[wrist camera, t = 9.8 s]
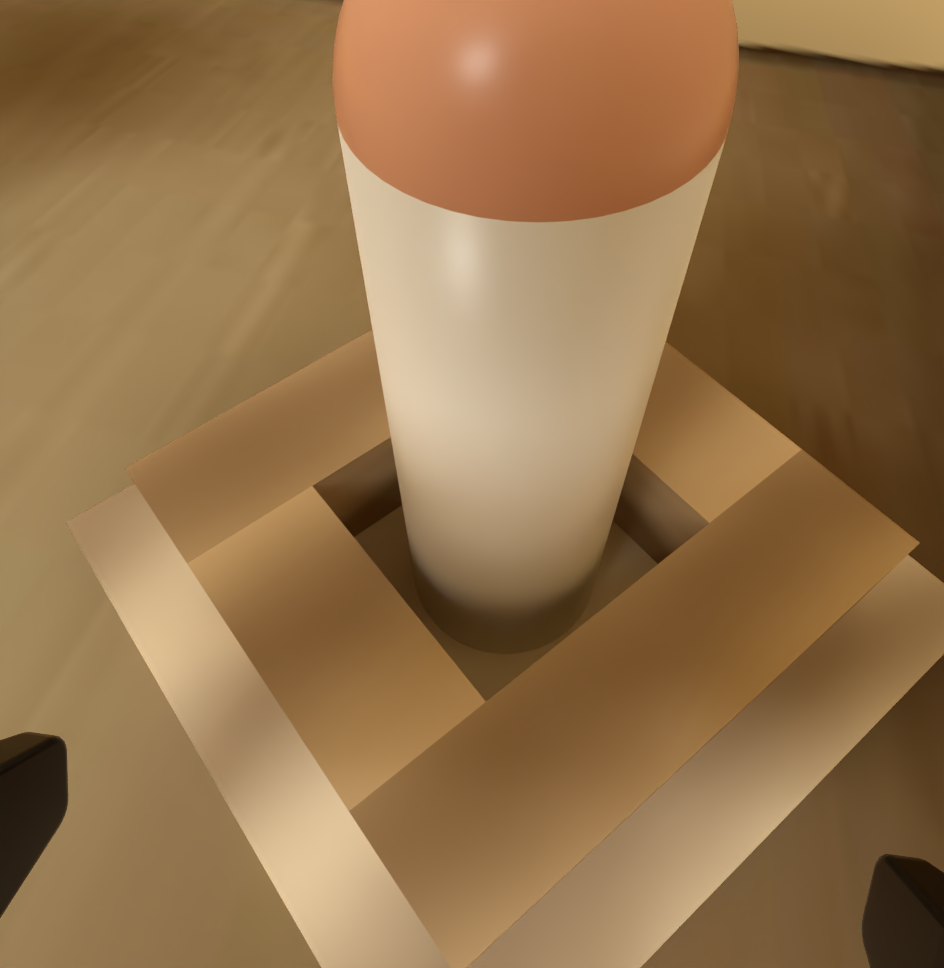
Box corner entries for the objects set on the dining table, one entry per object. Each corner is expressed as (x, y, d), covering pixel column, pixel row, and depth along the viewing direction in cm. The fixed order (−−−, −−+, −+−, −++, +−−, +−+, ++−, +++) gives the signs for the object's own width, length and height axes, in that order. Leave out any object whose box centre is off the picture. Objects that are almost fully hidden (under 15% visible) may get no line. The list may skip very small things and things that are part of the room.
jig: (959, 629, 19) (1064, 556, 15) (442, 1160, 14) (430, 1226, 10) (534, 278, 26) (542, 173, 22) (83, 541, 20) (3, 456, 17)
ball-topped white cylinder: (619, 628, 18) (907, -72, 6) (436, 674, 17) (335, 6, 5) (561, 476, 20) (680, -250, 8) (398, 512, 20) (267, -210, 8)
